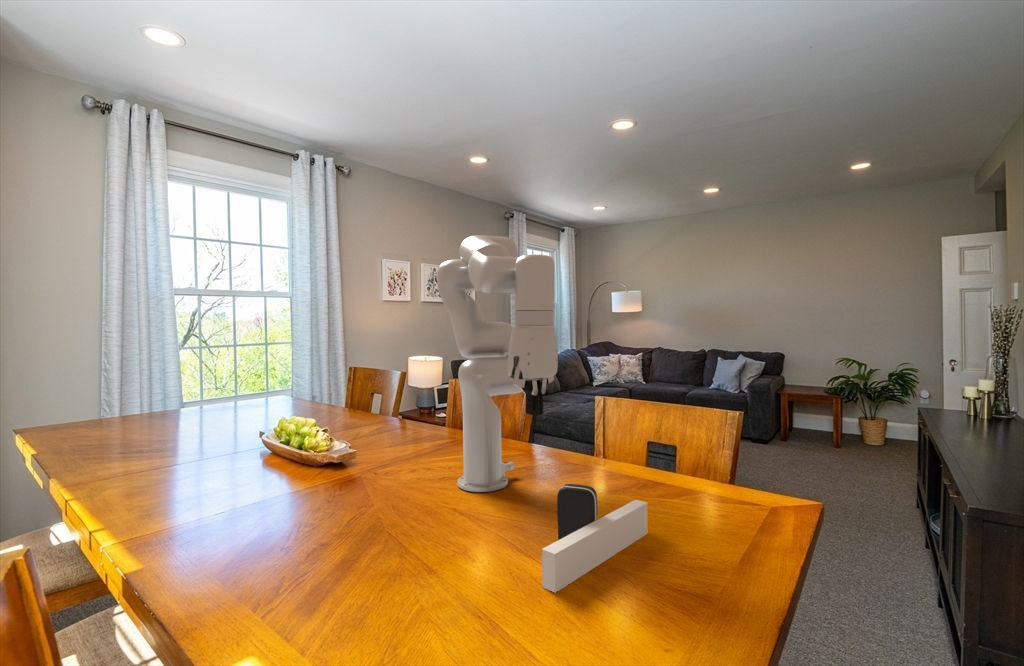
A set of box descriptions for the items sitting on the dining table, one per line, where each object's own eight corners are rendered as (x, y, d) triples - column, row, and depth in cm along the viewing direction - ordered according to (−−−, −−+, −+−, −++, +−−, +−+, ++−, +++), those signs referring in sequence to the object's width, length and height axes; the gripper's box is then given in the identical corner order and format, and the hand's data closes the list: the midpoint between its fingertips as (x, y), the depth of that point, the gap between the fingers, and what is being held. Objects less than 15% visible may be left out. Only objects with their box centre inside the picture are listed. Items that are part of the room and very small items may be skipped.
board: (635, 529, 97) (635, 499, 97) (647, 533, 96) (647, 502, 95) (542, 587, 77) (542, 548, 77) (554, 593, 75) (554, 554, 75)
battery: (599, 546, 91) (599, 484, 90) (595, 556, 87) (594, 491, 87) (562, 540, 93) (561, 480, 93) (556, 549, 90) (555, 486, 89)
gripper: (545, 318, 104) (544, 405, 105) (493, 320, 93) (493, 417, 94) (573, 319, 99) (573, 411, 100) (522, 321, 88) (522, 424, 89)
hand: (534, 414), depth 97 cm, fingers closed
